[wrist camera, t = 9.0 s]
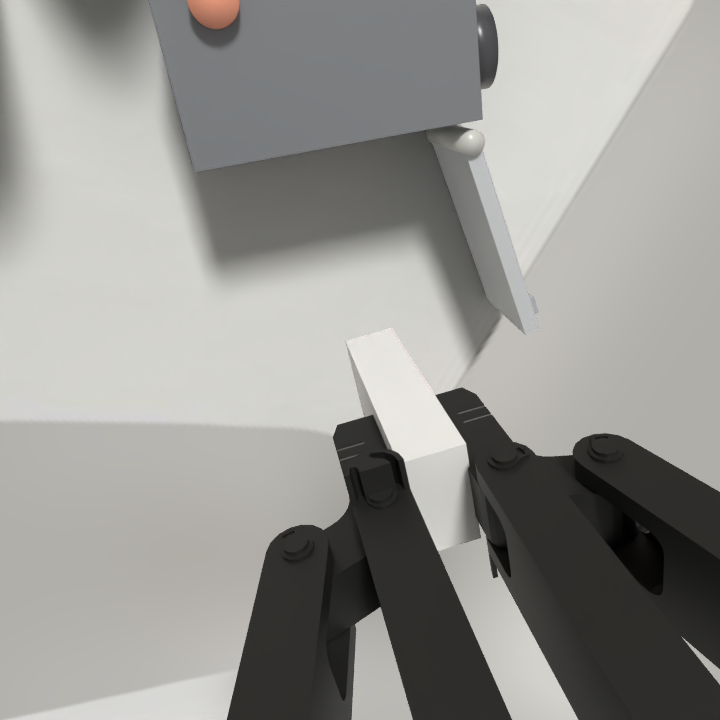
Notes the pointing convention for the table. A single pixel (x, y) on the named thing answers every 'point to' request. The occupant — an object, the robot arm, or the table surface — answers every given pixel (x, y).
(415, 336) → the table surface
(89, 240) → the table surface
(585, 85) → the table surface
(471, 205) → the side door
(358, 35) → the camera body
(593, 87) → the table surface
